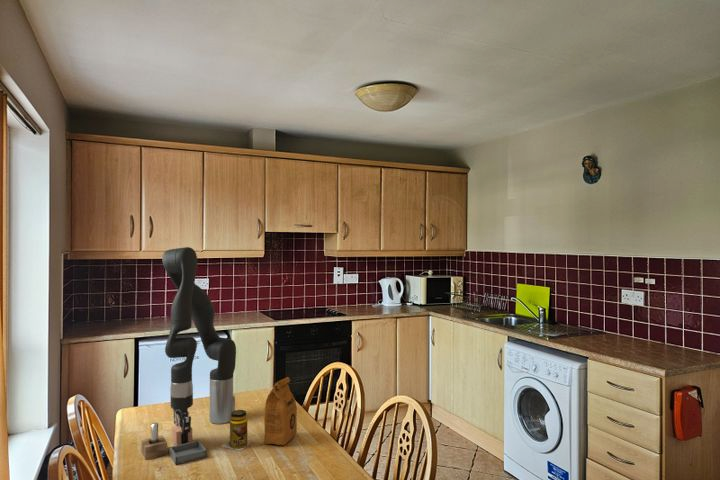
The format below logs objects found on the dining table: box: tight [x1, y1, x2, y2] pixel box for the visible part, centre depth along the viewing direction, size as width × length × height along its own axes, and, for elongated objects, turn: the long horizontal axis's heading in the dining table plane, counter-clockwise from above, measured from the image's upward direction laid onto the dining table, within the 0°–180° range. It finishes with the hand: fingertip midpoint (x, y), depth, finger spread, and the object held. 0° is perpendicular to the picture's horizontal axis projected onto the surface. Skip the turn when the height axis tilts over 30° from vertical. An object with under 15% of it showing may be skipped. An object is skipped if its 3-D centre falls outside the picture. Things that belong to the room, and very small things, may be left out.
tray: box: [168, 440, 207, 466], centre depth 165 cm, size 10×9×2 cm
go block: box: [140, 435, 168, 460], centre depth 167 cm, size 7×7×4 cm
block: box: [171, 425, 193, 446], centre depth 174 cm, size 6×6×5 cm
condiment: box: [220, 409, 252, 451], centre depth 174 cm, size 7×8×12 cm
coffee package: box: [263, 376, 298, 446], centre depth 178 cm, size 10×12×22 cm
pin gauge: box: [150, 422, 159, 444], centre depth 167 cm, size 2×2×10 cm
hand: (182, 440), depth 174 cm, fingers closed on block, 5 cm apart
